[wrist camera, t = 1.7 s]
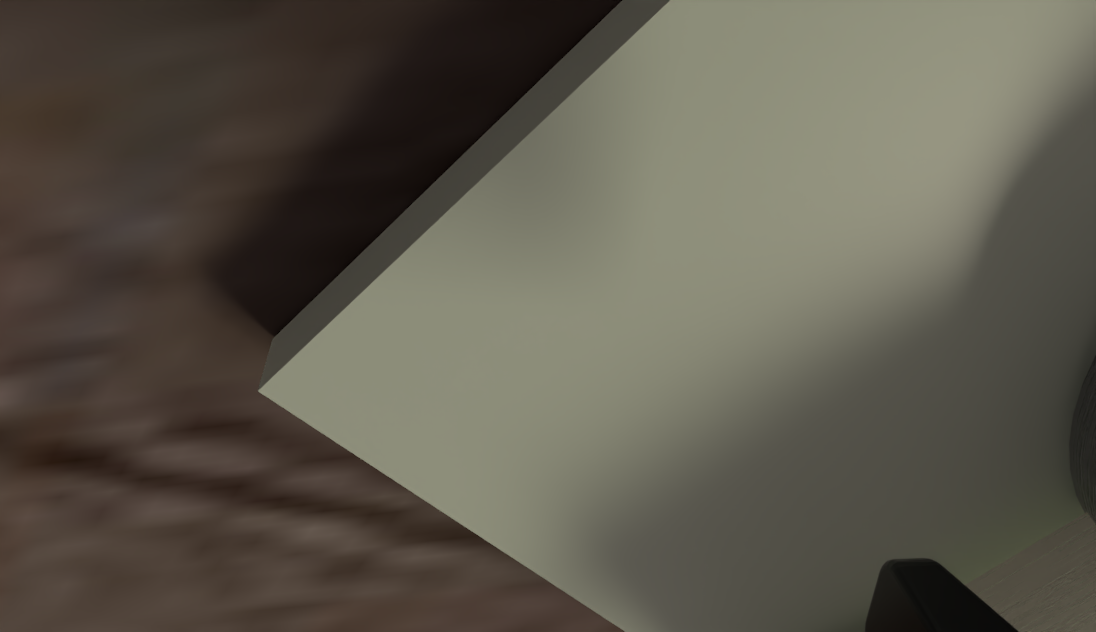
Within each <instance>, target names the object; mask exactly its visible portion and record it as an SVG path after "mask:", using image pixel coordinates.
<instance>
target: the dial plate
mask: <svg viewBox="0 0 1096 632" xmlns="http://www.w3.org/2000/svg"><path fill="white" fill-rule="evenodd" d="M1095 356H1096V0H622V1H621V2H620V3H619V4H618V5H617V6H616V7H615V8H614V9H613V10H612V11H611V12H610V13H609V14H608V15H607V16H606V17H605V18H603V19H602V20H601V21H600V22H599V23H598V24H597V25H596V26H595V27H594V28H593V29H592V30H591V31H590V32H589V33H588V34H587V35H586V36H585V37H584V38H583V39H582V40H581V41H580V42H579V43H578V44H577V45H576V46H575V47H574V48H573V49H571V50H570V51H569V52H568V53H567V54H566V55H565V56H564V57H563V58H562V59H561V60H560V61H559V62H558V63H557V64H556V65H555V66H554V67H553V68H552V69H551V70H550V71H549V72H548V73H547V74H546V75H545V76H544V77H543V78H542V79H541V80H539V81H538V82H537V83H536V84H535V85H534V86H533V87H532V88H531V89H530V90H529V91H528V92H527V93H526V94H525V95H524V96H523V97H522V98H521V99H520V100H519V101H518V102H517V103H516V104H515V105H514V106H513V107H512V108H511V109H510V110H509V111H507V112H506V113H505V114H504V115H503V116H502V117H501V118H500V119H499V120H498V121H497V122H496V123H495V124H494V125H493V126H492V127H491V128H490V129H489V130H488V131H487V132H486V133H485V134H484V135H483V136H482V137H481V138H480V139H479V140H478V141H476V142H475V143H474V144H473V145H472V146H471V147H470V148H469V149H468V150H467V151H466V152H465V153H464V154H463V155H462V156H461V157H460V158H459V159H458V160H457V161H456V162H455V163H454V164H453V165H452V166H451V167H450V168H449V169H448V170H447V171H446V172H444V173H443V174H442V175H441V176H440V177H439V178H438V179H437V180H436V181H435V182H434V183H433V184H432V185H431V186H430V187H429V188H428V189H427V190H426V191H425V192H424V193H423V194H422V195H421V196H420V197H419V198H418V199H417V200H416V201H415V202H414V203H412V204H411V205H410V206H409V207H408V208H407V209H406V210H405V211H404V212H403V213H402V214H401V215H400V216H399V217H398V218H397V219H396V220H395V221H394V222H393V223H392V224H391V225H390V226H389V227H388V228H387V229H386V230H385V231H384V232H383V233H382V234H380V235H379V236H378V237H377V238H376V239H375V240H374V241H373V242H372V243H371V244H370V245H369V246H368V247H367V248H366V249H365V250H364V251H363V252H362V253H361V254H360V255H359V256H358V257H357V258H356V259H355V260H354V261H353V262H352V263H351V264H350V265H348V266H347V267H346V268H345V269H344V270H343V271H342V272H341V273H340V274H339V275H338V276H337V277H336V278H335V279H334V280H333V281H332V282H331V283H330V284H329V285H328V286H327V287H326V288H325V289H324V290H323V291H322V292H321V293H320V294H319V295H318V296H316V297H315V298H314V299H313V300H312V301H311V302H310V303H309V304H308V305H307V306H306V307H305V308H304V309H303V310H302V311H301V312H300V313H299V314H298V315H297V316H296V317H295V318H294V319H293V320H292V321H291V322H290V323H289V324H288V325H287V326H285V327H284V328H283V329H282V330H281V331H280V332H279V333H278V334H277V335H276V336H275V337H274V338H273V339H272V343H271V346H270V350H269V353H268V357H267V360H266V364H265V367H264V371H263V374H262V378H261V381H260V385H259V388H258V392H260V393H261V394H263V395H264V396H266V397H268V398H269V399H271V400H272V401H274V402H275V403H277V404H278V405H280V406H281V407H283V408H284V409H286V410H287V411H289V412H290V413H292V414H294V415H295V416H297V417H298V418H300V419H301V420H303V421H304V422H306V423H307V424H309V425H310V426H312V427H313V428H315V429H316V430H318V431H319V432H321V433H323V434H324V435H326V436H327V437H329V438H330V439H332V440H333V441H335V442H336V443H338V444H339V445H341V446H342V447H344V448H345V449H347V450H349V451H350V452H352V453H353V454H355V455H356V456H358V457H359V458H361V459H362V460H364V461H365V462H367V463H368V464H370V465H371V466H373V467H375V468H376V469H378V470H379V471H381V472H382V473H384V474H385V475H387V476H388V477H390V478H391V479H393V480H394V481H396V482H397V483H399V484H400V485H402V486H404V487H405V488H407V489H408V490H410V491H411V492H413V493H414V494H416V495H417V496H419V497H420V498H422V499H423V500H425V501H426V502H428V503H430V504H431V505H433V506H434V507H436V508H437V509H439V510H440V511H442V512H443V513H445V514H446V515H448V516H449V517H451V518H452V519H454V520H455V521H457V522H459V523H460V524H462V525H463V526H465V527H466V528H468V529H469V530H471V531H472V532H474V533H475V534H477V535H478V536H480V537H481V538H483V539H485V540H486V541H488V542H489V543H491V544H492V545H494V546H495V547H497V548H498V549H500V550H501V551H503V552H504V553H506V554H507V555H509V556H511V557H512V558H514V559H515V560H517V561H518V562H520V563H521V564H523V565H524V566H526V567H527V568H529V569H530V570H532V571H533V572H535V573H536V574H538V575H540V576H541V577H543V578H544V579H546V580H547V581H549V582H550V583H552V584H553V585H555V586H556V587H558V588H559V589H561V590H562V591H564V592H566V593H567V594H569V595H570V596H572V597H573V598H575V599H576V600H578V601H579V602H581V603H582V604H584V605H585V606H587V607H588V608H590V609H592V610H593V611H595V612H596V613H598V614H599V615H601V616H602V617H604V618H605V619H607V620H608V621H610V622H611V623H613V624H614V625H616V626H617V627H619V628H621V629H622V630H624V631H625V632H865V623H866V618H867V614H868V611H869V607H870V604H871V600H872V597H873V593H874V589H875V586H876V582H877V579H878V575H879V572H880V569H881V567H882V566H883V564H884V563H885V562H886V561H888V560H891V559H909V558H929V559H932V560H934V561H936V562H938V563H940V564H941V565H942V566H943V567H945V568H946V569H947V570H948V571H949V572H950V573H952V574H953V575H954V576H955V577H956V578H957V579H958V580H960V581H961V582H962V583H963V584H964V585H965V584H967V583H969V582H971V581H972V580H974V579H976V578H977V577H979V576H981V575H982V574H984V573H986V572H987V571H989V570H991V569H992V568H994V567H996V566H997V565H999V564H1001V563H1002V562H1004V561H1006V560H1007V559H1009V558H1011V557H1012V556H1014V555H1016V554H1017V553H1019V552H1021V551H1022V550H1024V549H1026V548H1027V547H1029V546H1031V545H1032V544H1034V543H1036V542H1037V541H1039V540H1041V539H1042V538H1044V537H1046V536H1047V535H1049V534H1051V533H1053V532H1054V531H1056V530H1058V529H1059V528H1061V527H1063V526H1064V525H1066V524H1068V523H1069V522H1071V521H1073V520H1074V519H1076V518H1078V517H1079V516H1081V515H1083V514H1084V510H1083V508H1082V506H1081V504H1080V502H1079V500H1078V498H1077V496H1076V493H1075V488H1074V484H1073V480H1072V476H1071V472H1070V453H1069V441H1070V434H1071V427H1072V420H1073V414H1074V410H1075V407H1076V404H1077V401H1078V397H1079V394H1080V391H1081V388H1082V384H1083V382H1084V380H1085V377H1086V375H1087V373H1088V371H1089V369H1090V367H1091V364H1092V362H1093V360H1094V358H1095Z"/></svg>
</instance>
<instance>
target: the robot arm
mask: <svg viewBox="0 0 1096 632" xmlns="http://www.w3.org/2000/svg"><path fill="white" fill-rule="evenodd" d="M865 632H1019V631H1018V630H1017V629H1015V628H1014V627H1013V626H1012V625H1011V624H1010V623H1008V622H1007V621H1006V620H1005V619H1004V618H1003V617H1001V616H1000V615H999V614H998V613H997V612H996V611H994V610H993V609H992V608H991V607H990V606H989V605H988V604H986V603H985V602H984V601H983V600H982V599H981V598H979V597H978V596H977V595H976V594H975V593H974V592H972V591H971V590H970V589H969V588H968V587H967V586H965V585H964V584H963V583H962V582H961V581H960V580H958V579H957V578H956V577H955V576H954V575H953V574H952V573H950V572H949V571H948V570H947V569H946V568H945V567H943V566H942V565H941V564H940V563H938V562H936V561H934V560H932V559H929V558H909V559H891V560H888V561H886V562H885V563H884V564H883V566H882V567H881V569H880V572H879V575H878V579H877V582H876V586H875V589H874V593H873V597H872V600H871V604H870V607H869V611H868V614H867V618H866V623H865Z"/></svg>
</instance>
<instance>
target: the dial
mask: <svg viewBox="0 0 1096 632" xmlns="http://www.w3.org/2000/svg"><path fill="white" fill-rule="evenodd" d="M1069 453H1070V472H1071V476H1072V480H1073V484H1074V488H1075V493H1076V496H1077V498H1078V500H1079V502H1080V504H1081V506H1082V508H1083V510H1084V514H1083V515H1081V516H1079V517H1078V518H1076V519H1074V520H1073V521H1071V522H1069V523H1068V524H1066V525H1064V526H1063V527H1061V528H1059V529H1058V530H1056V531H1054V532H1053V533H1051V534H1049V535H1047V536H1046V537H1044V538H1042V539H1041V540H1039V541H1037V542H1036V543H1034V544H1032V545H1031V546H1029V547H1027V548H1026V549H1024V550H1022V551H1021V552H1019V553H1017V554H1016V555H1014V556H1012V557H1011V558H1009V559H1007V560H1006V561H1004V562H1002V563H1001V564H999V565H997V566H996V567H994V568H992V569H991V570H989V571H987V572H986V573H984V574H982V575H981V576H979V577H977V578H976V579H974V580H972V581H971V582H969V583H967V584H965V586H967V587H968V588H969V589H970V590H971V591H972V592H974V593H975V594H976V595H977V596H978V597H979V598H981V599H982V600H983V601H984V602H985V603H986V604H988V605H989V606H990V607H991V608H992V609H993V610H994V611H996V612H997V613H998V614H999V615H1000V616H1001V617H1003V618H1004V619H1005V620H1006V621H1007V622H1008V623H1010V624H1011V625H1012V626H1013V627H1014V628H1015V629H1017V630H1018V631H1019V632H1096V356H1095V358H1094V360H1093V362H1092V364H1091V367H1090V369H1089V371H1088V373H1087V375H1086V377H1085V380H1084V382H1083V384H1082V388H1081V391H1080V394H1079V397H1078V401H1077V404H1076V407H1075V410H1074V414H1073V420H1072V427H1071V434H1070V441H1069Z"/></svg>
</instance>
